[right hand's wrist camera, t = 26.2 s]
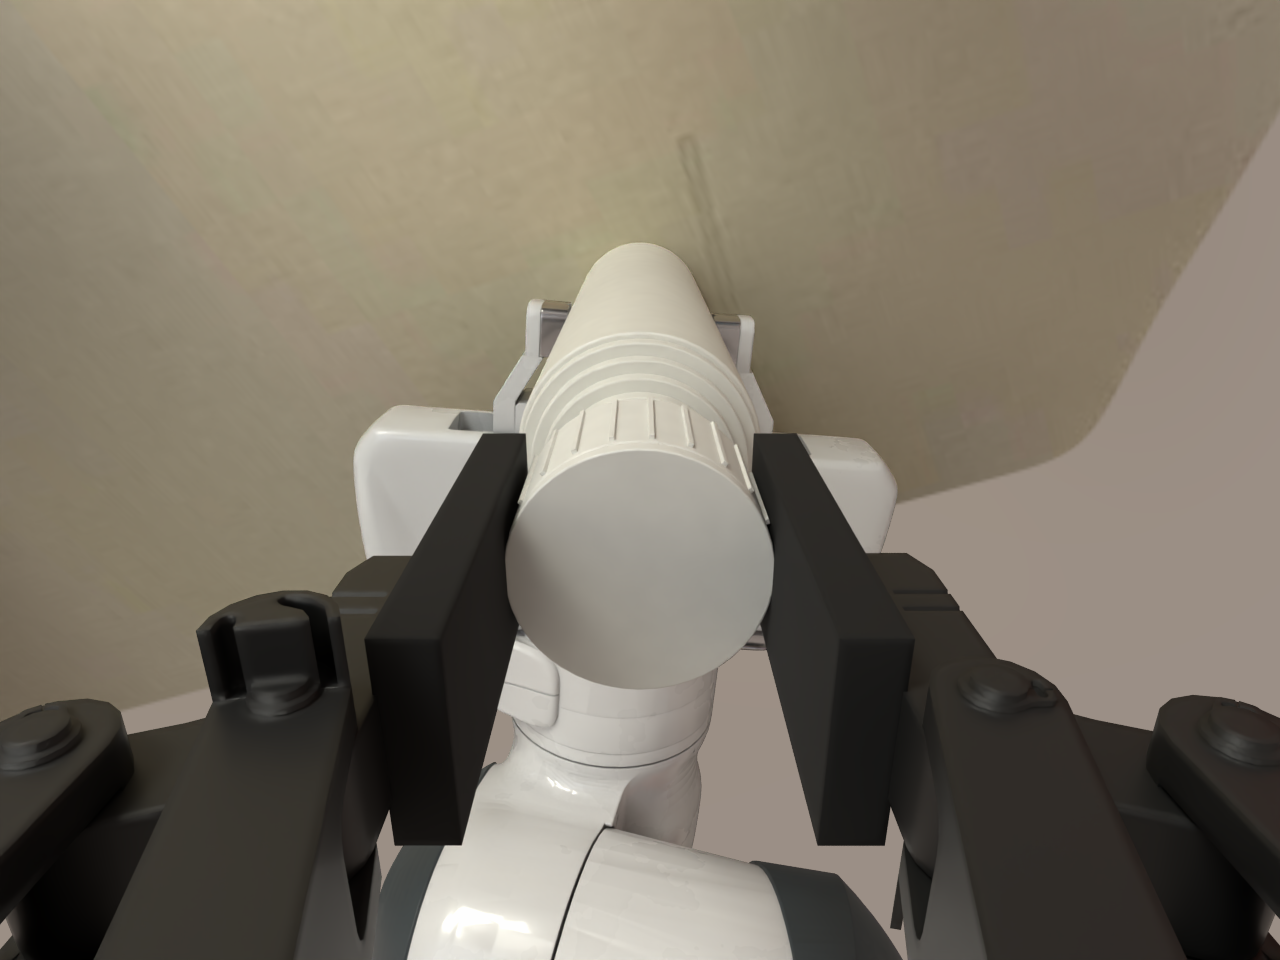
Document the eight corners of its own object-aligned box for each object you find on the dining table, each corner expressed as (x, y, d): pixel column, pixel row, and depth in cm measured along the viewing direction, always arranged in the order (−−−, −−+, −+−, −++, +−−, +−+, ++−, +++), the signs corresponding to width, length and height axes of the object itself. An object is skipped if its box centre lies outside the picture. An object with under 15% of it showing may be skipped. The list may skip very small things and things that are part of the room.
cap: (592, 350, 13) (580, 392, 11) (800, 466, 14) (834, 530, 12) (484, 545, 15) (453, 621, 12) (680, 641, 15) (688, 732, 13)
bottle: (576, 355, 36) (469, 682, 13) (585, 236, 34) (477, 380, 11) (691, 367, 36) (776, 708, 14) (706, 248, 34) (834, 416, 12)
